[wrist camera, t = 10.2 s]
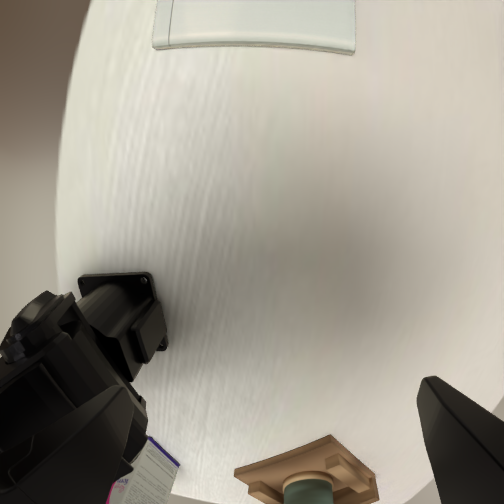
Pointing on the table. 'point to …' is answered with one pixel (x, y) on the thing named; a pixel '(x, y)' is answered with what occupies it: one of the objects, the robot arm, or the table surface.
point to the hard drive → (256, 24)
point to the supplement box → (146, 478)
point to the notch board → (312, 459)
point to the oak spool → (308, 488)
